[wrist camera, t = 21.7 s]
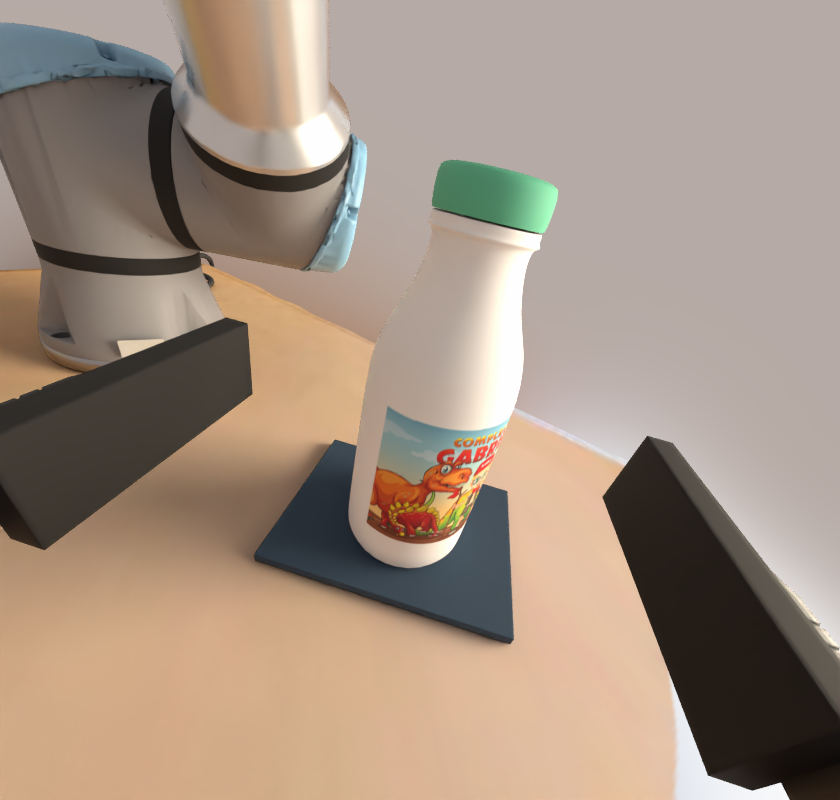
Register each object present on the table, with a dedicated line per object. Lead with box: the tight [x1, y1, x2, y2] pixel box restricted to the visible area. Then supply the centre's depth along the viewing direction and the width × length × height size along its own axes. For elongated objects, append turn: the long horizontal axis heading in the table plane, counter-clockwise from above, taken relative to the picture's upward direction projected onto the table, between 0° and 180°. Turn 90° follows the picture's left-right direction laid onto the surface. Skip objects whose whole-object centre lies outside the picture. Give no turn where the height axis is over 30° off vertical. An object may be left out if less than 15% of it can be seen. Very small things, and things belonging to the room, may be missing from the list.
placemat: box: [254, 440, 514, 644], centre depth 23 cm, size 15×11×1 cm
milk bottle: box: [348, 160, 558, 568], centre depth 17 cm, size 8×8×20 cm
